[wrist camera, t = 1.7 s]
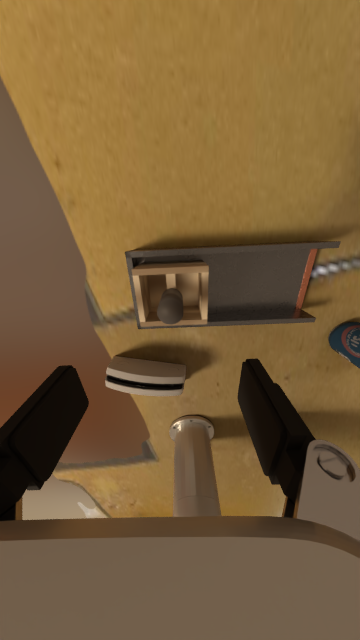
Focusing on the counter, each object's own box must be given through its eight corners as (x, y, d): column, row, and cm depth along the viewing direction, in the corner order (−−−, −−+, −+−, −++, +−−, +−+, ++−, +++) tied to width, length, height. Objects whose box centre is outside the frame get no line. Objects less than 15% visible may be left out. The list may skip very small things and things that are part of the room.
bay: (296, 310, 33) (314, 322, 29) (143, 317, 34) (138, 329, 29) (314, 241, 28) (340, 241, 24) (133, 249, 29) (124, 251, 24)
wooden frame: (201, 307, 32) (213, 342, 21) (148, 309, 32) (132, 345, 21) (202, 259, 28) (216, 272, 17) (142, 262, 28) (119, 277, 18)
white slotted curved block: (113, 373, 40) (94, 396, 30) (115, 353, 40) (96, 370, 30) (183, 381, 41) (187, 406, 31) (186, 362, 41) (191, 381, 31)
